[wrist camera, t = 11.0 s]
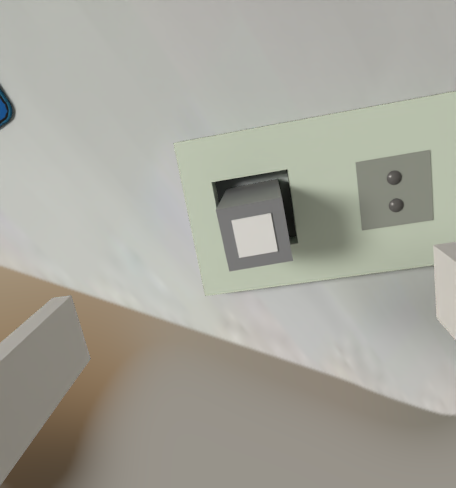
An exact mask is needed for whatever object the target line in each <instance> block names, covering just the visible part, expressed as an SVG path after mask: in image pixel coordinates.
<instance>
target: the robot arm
mask: <svg viewBox="0 0 456 488" xmlns="http://www.w3.org/2000/svg"><path fill="white" fill-rule="evenodd" d="M433 251H434V273H435V295H436V318H437V319H438V320H439V322H440V323H441V324H442V325H443V326H444V327H445V329H446V330H447V331H448V332H449V333H450V334H451V336H452V337H453V338H454V339H455V340H456V242H451V243H443V244H436V245H433ZM89 360H90V355H89V352H88V349H87V346H86V342H85V339H84V336H83V332H82V329H81V326H80V322H79V319H78V316H77V313H76V309H75V306H74V303H73V300H72V296H63V297H56V298H52V299H51V300H50V301H48V302H47V303H46V304H45V305H44V306H43V307H41V308H40V309H39V310H38V311H37V312H36V313H34V314H33V315H32V316H31V317H30V318H29V319H28V320H26V321H25V322H24V323H23V324H22V325H21V326H19V327H18V328H17V329H16V330H15V331H14V332H12V333H11V334H10V335H9V336H8V337H7V338H5V339H4V340H3V341H2V342H1V343H0V485H1V484H2V482H3V481H4V479H5V478H6V477H7V475H8V474H9V472H10V471H11V470H12V468H13V467H14V465H15V464H16V462H17V461H18V460H19V458H20V457H21V456H22V454H23V453H24V451H25V450H26V449H27V447H28V446H29V444H30V443H31V442H32V440H33V439H34V437H35V436H36V435H37V433H38V432H39V430H40V429H41V428H42V426H43V425H44V423H45V422H46V421H47V419H48V418H49V416H50V415H51V414H52V412H53V411H54V409H55V408H56V407H57V405H58V404H59V402H60V401H61V399H62V398H63V397H64V395H65V394H66V392H67V391H68V390H69V388H70V387H71V386H72V384H73V383H74V381H75V380H76V379H77V377H78V376H79V374H80V373H81V372H82V370H83V369H84V367H85V366H86V365H87V363H88V362H89Z"/></svg>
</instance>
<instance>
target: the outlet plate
mask: <svg viewBox="0 0 456 488" xmlns="http://www.w3.org/2000/svg"><path fill="white" fill-rule="evenodd" d="M173 144H174V149H175V154H176V159H177V163H178V168H179V173H180V178H181V183H182V187H183V192H184V197H185V202H186V206H187V211H188V216H189V221H190V226H191V230H192V235H193V240H194V245H195V250H196V254H197V259H198V264H199V269H200V273H201V278H202V283H203V288H204V293H205V296H210V295H217V294H224V293H232V292H239V291H247V290H254V289H262V288H269V287H276V286H284V285H291V284H299V283H306V282H314V281H321V280H328V279H336V278H343V277H351V276H358V275H365V274H373V273H380V272H388V271H395V270H403V269H410V268H417V267H425V266H432V265H434V251H433V245H436V244H443V243H451V242H456V91H453V92H447V93H442V94H436V95H431V96H426V97H420V98H415V99H409V100H404V101H398V102H393V103H388V104H382V105H377V106H371V107H366V108H360V109H355V110H350V111H344V112H339V113H333V114H328V115H322V116H317V117H311V118H306V119H301V120H295V121H290V122H284V123H279V124H273V125H268V126H263V127H257V128H252V129H246V130H241V131H235V132H230V133H225V134H219V135H214V136H208V137H203V138H197V139H192V140H186V141H181V142H177V143H173ZM281 170H287V173H288V181H289V188H290V195H291V202H292V209H293V216H294V224H295V231H296V236H295V237H289V241H290V246H291V252H292V258H293V261H289V262H283V263H277V264H271V265H265V266H259V267H254V268H248V269H242V270H236V271H230V272H229V268H228V263H227V259H226V254H225V250H224V245H223V241H222V236H221V232H220V227H219V223H218V218H217V213H216V208H217V207H218V205H219V200H218V194H217V189H216V183H215V182H216V181H222V180H228V179H234V178H240V177H246V176H251V175H257V174H263V173H269V172H275V171H281Z"/></svg>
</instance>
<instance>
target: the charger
mask: <svg viewBox="0 0 456 488" xmlns="http://www.w3.org/2000/svg"><path fill="white" fill-rule="evenodd" d="M216 213H217V218H218V223H219V227H220V232H221V236H222V241H223V245H224V250H225V254H226V259H227V263H228V268H229V272H230V271H236V270H242V269H248V268H254V267H259V266H265V265H271V264H277V263H283V262H289V261H293V258H292V252H291V246H290V241H289V235H288V229H287V224H286V218H285V212H284V207H283V201H282V196H281V191H280V187H279V183H278V179H274V180H268V181H263V182H258V183H253V184H248V185H243V186H238V187H233V188H228V189H226V191H225V193H224V195H223V197H222V199H221V201H220V203H219V205H218V207H217V208H216Z"/></svg>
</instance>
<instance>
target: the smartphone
mask: <svg viewBox="0 0 456 488" xmlns="http://www.w3.org/2000/svg"><path fill="white" fill-rule="evenodd" d="M11 116H12V107H11V104H10V102H9V101H8V99H7V98H6V96H5V95H4V94H3V92H2V91H1V89H0V126H2V125H3V124H5V123H6V122H8V121H9V120H10V118H11Z"/></svg>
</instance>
